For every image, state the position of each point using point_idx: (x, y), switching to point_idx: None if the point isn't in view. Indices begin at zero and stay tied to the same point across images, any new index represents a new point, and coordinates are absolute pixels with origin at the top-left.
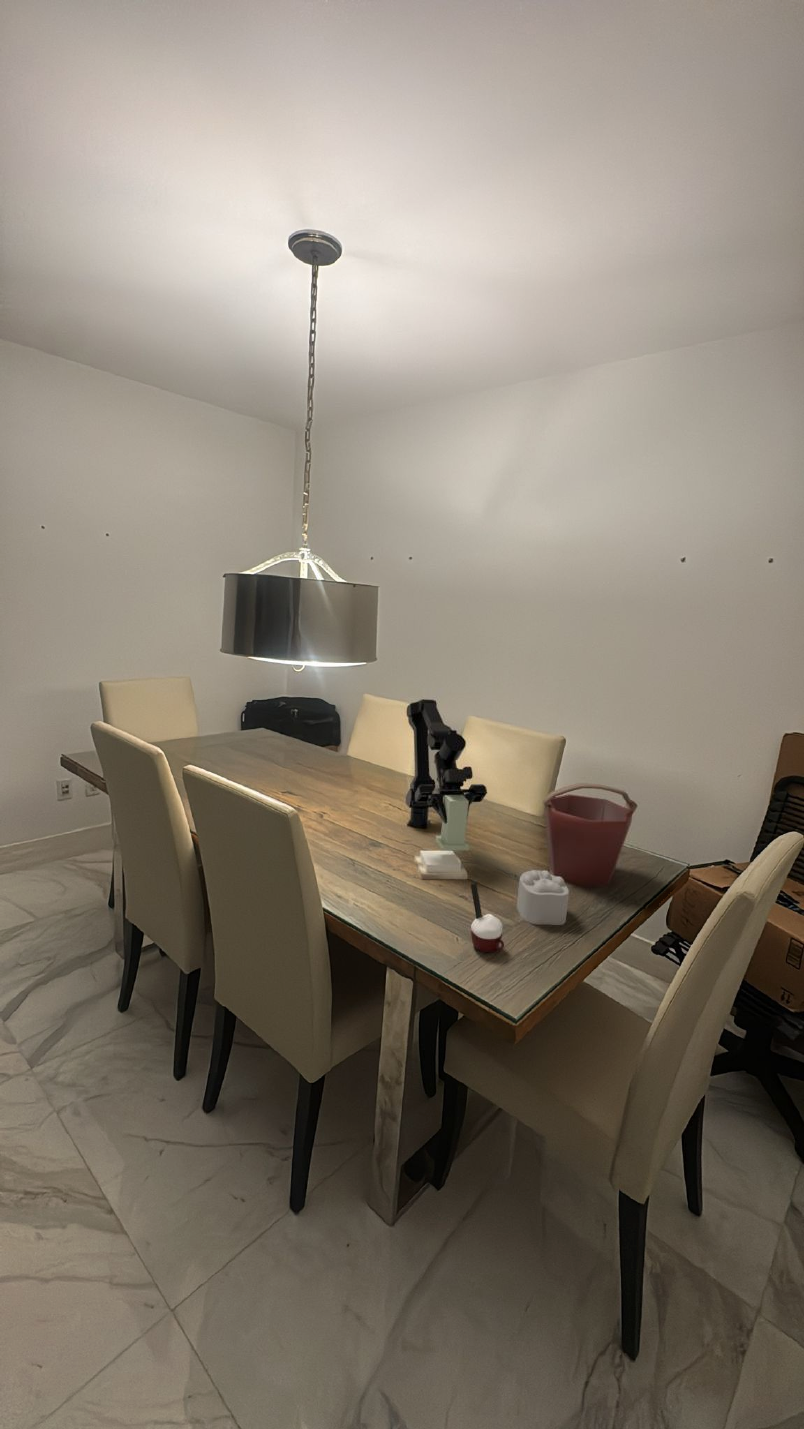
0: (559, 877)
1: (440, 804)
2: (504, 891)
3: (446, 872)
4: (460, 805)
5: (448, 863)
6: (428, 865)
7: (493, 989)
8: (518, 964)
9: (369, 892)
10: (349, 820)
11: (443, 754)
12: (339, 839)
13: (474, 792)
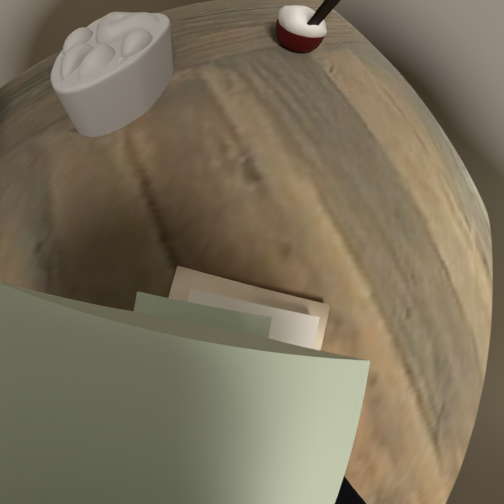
0: (75, 31)
1: (342, 499)
2: (123, 172)
3: (243, 299)
4: (136, 320)
5: (234, 309)
6: (312, 316)
7: None
8: (267, 16)
9: (448, 263)
10: None
11: None
12: None
13: None
